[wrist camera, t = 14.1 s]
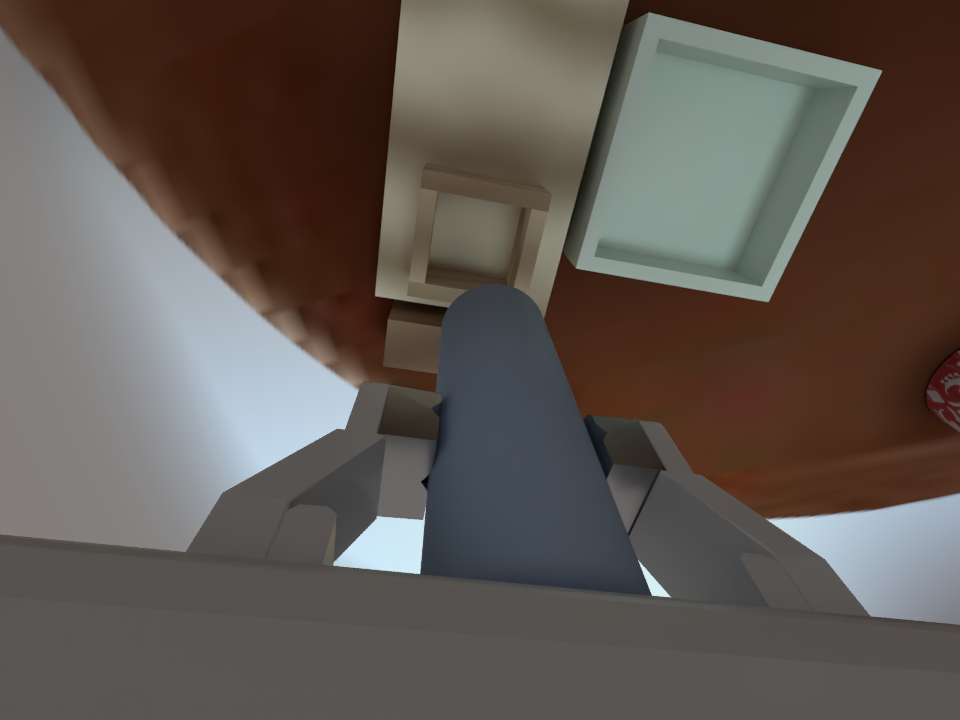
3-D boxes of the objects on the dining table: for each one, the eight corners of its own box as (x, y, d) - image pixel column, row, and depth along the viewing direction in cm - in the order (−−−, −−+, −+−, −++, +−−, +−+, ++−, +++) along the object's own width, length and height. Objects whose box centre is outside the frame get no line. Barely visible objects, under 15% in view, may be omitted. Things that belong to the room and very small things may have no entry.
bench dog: (396, 294, 30) (388, 319, 26) (519, 314, 31) (527, 340, 27) (391, 337, 31) (383, 365, 28) (509, 354, 32) (516, 384, 29)
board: (417, -97, 21) (405, -159, 16) (626, -42, 23) (673, -84, 18) (381, 282, 29) (366, 315, 25) (536, 307, 31) (551, 344, 26)
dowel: (449, 275, 13) (433, 549, 5) (556, 293, 13) (701, 575, 5) (434, 369, 14) (401, 703, 6) (530, 384, 15) (615, 716, 7)
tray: (623, 25, 24) (648, 12, 21) (828, 76, 25) (882, 70, 22) (562, 251, 29) (575, 268, 26) (735, 282, 30) (768, 302, 27)
